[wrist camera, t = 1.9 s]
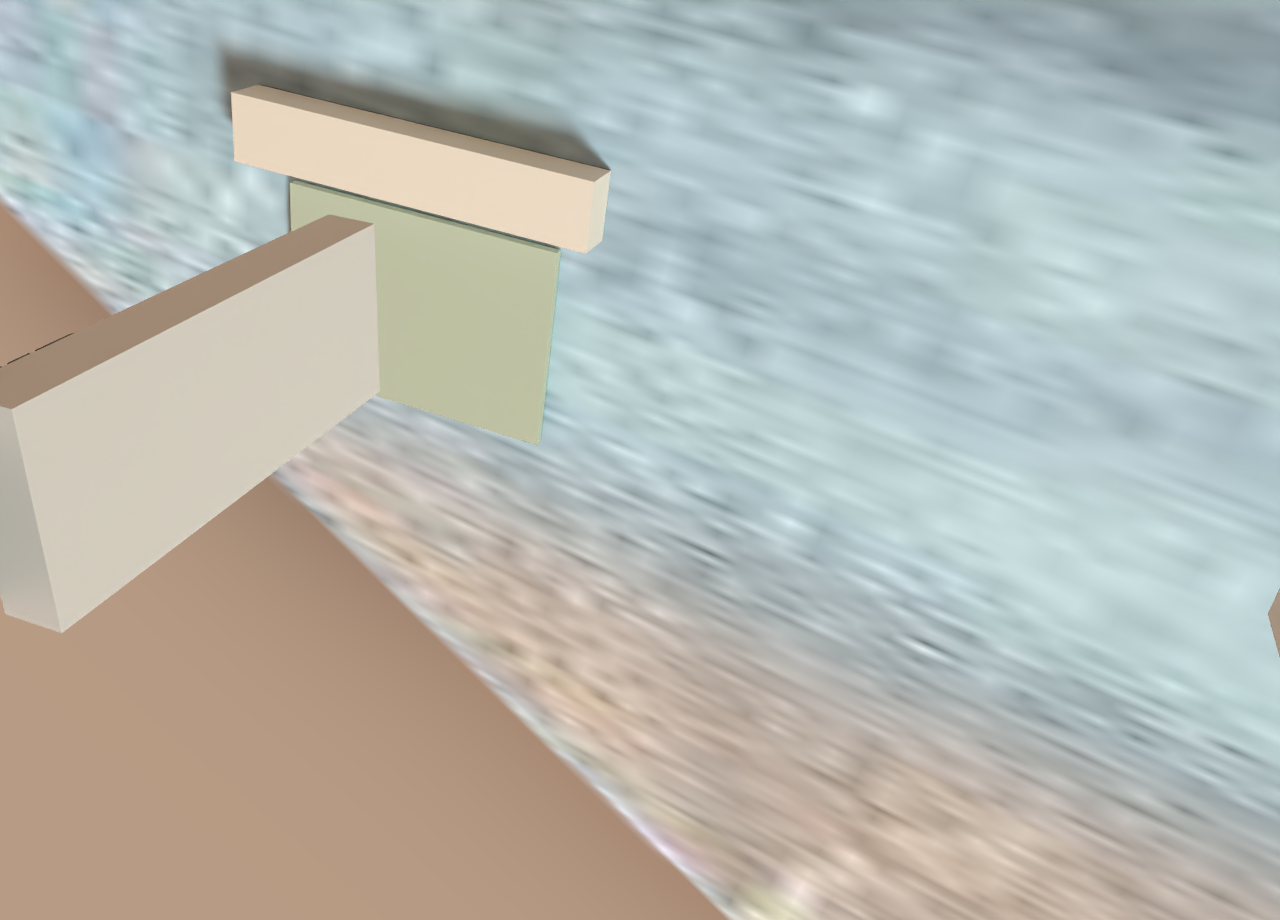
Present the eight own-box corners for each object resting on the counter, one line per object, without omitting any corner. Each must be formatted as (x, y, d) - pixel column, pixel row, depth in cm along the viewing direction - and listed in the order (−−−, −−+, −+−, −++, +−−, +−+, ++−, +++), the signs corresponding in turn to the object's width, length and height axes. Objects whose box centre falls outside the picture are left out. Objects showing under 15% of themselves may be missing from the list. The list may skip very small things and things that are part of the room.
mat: (296, 180, 42) (289, 182, 41) (561, 250, 39) (556, 253, 39) (300, 367, 46) (294, 370, 45) (540, 440, 43) (536, 445, 43)
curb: (258, 84, 40) (230, 92, 39) (611, 170, 37) (594, 182, 36) (261, 152, 42) (234, 161, 40) (602, 240, 39) (585, 253, 37)
